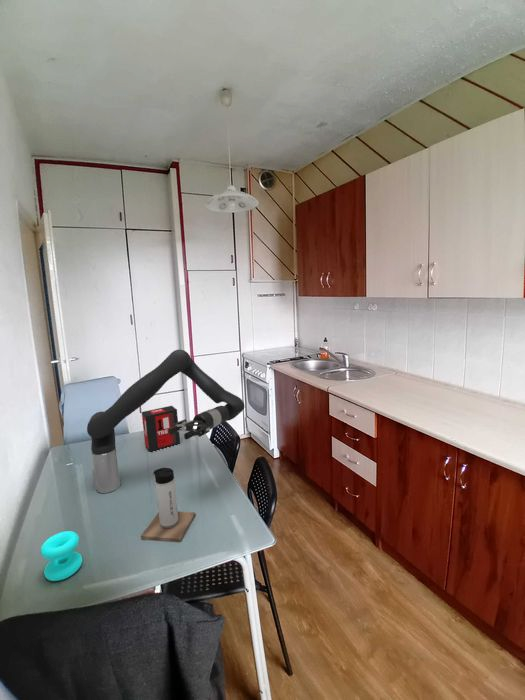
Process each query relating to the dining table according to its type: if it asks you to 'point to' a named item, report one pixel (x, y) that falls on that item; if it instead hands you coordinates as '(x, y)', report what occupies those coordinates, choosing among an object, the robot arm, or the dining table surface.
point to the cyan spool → (61, 555)
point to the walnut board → (170, 534)
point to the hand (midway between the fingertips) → (176, 434)
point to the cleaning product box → (160, 428)
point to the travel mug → (166, 497)
